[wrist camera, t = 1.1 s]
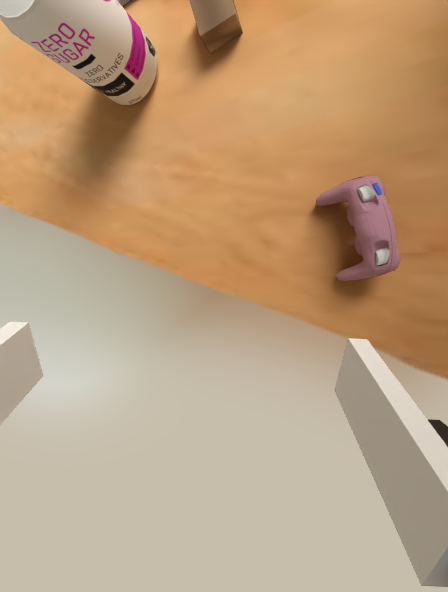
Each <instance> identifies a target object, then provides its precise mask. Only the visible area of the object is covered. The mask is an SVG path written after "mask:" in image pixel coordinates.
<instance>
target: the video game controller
mask: <svg viewBox="0 0 448 592" xmlns="http://www.w3.org/2000/svg"><path fill="white" fill-rule="evenodd" d="M344 201H347V202H348V203H349V205H350V206H349V207H348V209H347V219H348V221H349V223H350V225H351V226H353V227H354V228H355V233H356V235H357V236H356V237H355V241H354V245H355V249H356V251H357V253H358V254H359V255H361V256H363V261H362V262H361V263H359V264H357V265H355V266H352V267H349V268H346V269H344V270H342V271H340V272H338V273H337V274H336V278H337V279H338V280H341V281H350V280H360V279H367V278H371V277H375V276H379V275H382V274H385V273H388V272H391V271H394V270H396V269H397V268H398V266H399V262H400V252H399V250H398V247H397V242H396V232H395V227H394V222H393V218H392V215H391V211H390V208H389V206H388V203H387V200H386V198H385V189H384V185H383V183H382V181H381V180H380V178H378V177H377V176H375V175H369V176H364V177H359V178H355V179H352V180H349V181H346V182H344V183H342V184H340V185H338V186H336V187H334V188H332V189H331V190H329V191H327V192H325V193H323V194H322V195H320V196H319V197H318V198H317V200H316V204H317V205H319V206H325V205H330V204H335V203H340V202H344Z"/></svg>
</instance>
